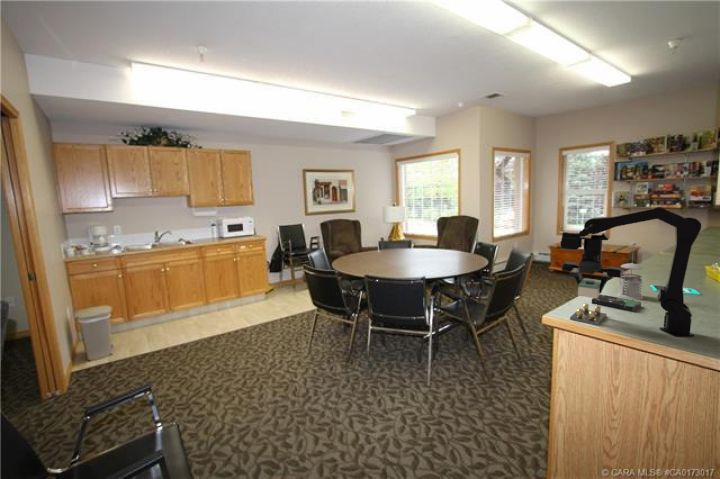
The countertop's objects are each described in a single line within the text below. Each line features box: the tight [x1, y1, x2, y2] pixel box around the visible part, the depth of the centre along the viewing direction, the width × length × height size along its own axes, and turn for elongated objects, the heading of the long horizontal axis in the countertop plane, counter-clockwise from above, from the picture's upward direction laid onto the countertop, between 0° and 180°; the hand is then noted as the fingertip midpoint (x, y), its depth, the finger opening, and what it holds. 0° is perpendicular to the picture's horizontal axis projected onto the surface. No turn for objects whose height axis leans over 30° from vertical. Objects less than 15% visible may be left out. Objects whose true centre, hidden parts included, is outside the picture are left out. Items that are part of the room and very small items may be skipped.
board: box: [577, 278, 602, 299], centre depth 128 cm, size 11×6×5 cm, turn 137°
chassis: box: [569, 303, 607, 326], centre depth 130 cm, size 13×9×4 cm
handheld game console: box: [650, 284, 701, 296], centre depth 160 cm, size 10×16×1 cm, turn 59°
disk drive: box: [591, 293, 642, 313], centre depth 143 cm, size 10×3×15 cm
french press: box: [616, 242, 644, 300], centre depth 152 cm, size 10×12×25 cm
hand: (590, 291), depth 129 cm, fingers closed on board, 6 cm apart
